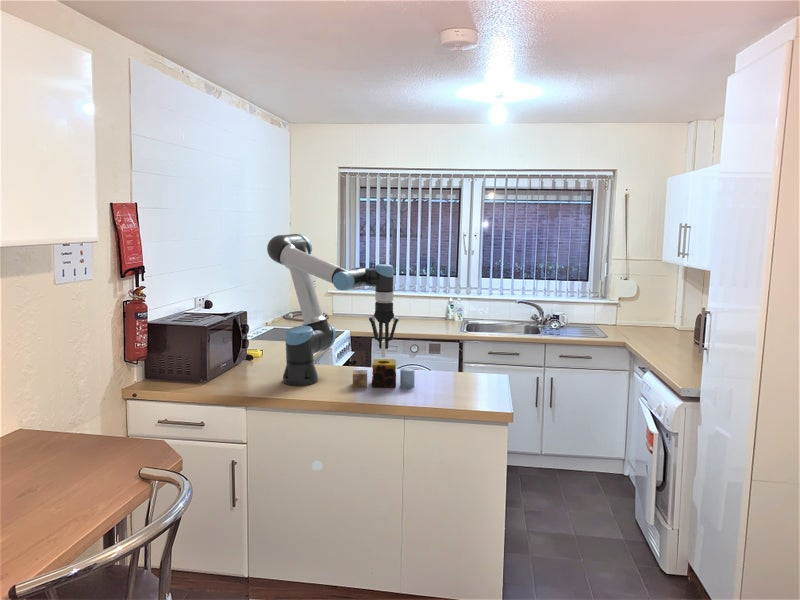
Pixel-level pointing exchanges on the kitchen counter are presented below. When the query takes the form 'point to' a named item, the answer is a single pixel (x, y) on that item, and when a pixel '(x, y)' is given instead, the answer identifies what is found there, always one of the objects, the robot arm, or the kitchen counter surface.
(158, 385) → the kitchen counter surface
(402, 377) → the blue cylinder
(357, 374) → the brown jar
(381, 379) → the candle
